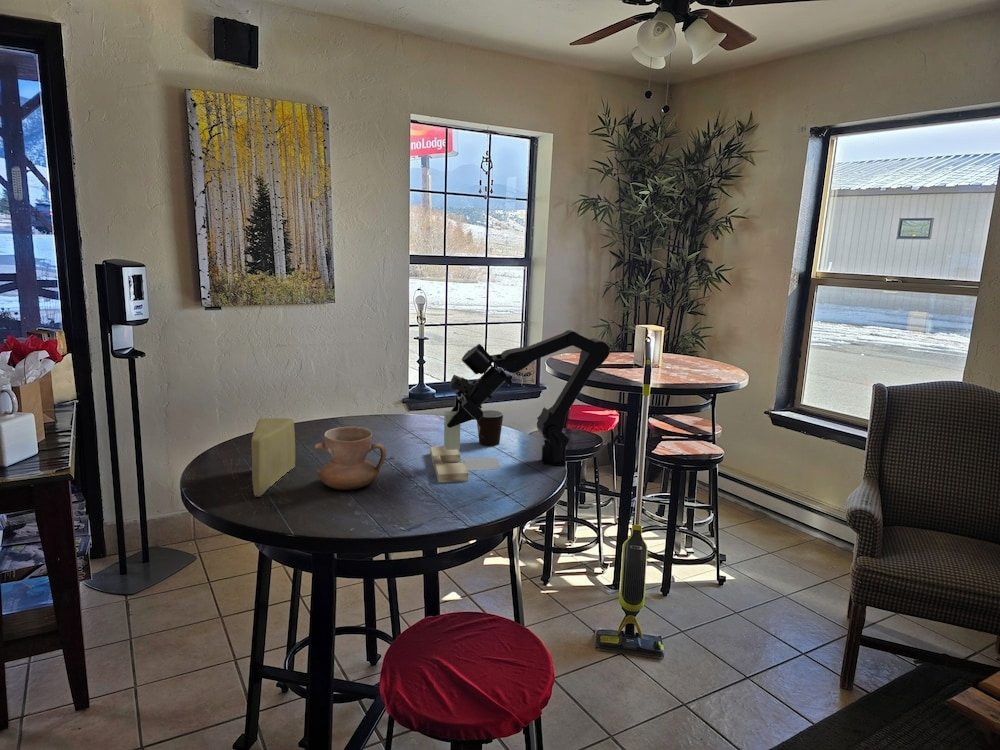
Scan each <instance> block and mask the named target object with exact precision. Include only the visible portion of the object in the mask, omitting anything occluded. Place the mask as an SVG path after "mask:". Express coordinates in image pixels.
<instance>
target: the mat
mask: <svg viewBox="0 0 1000 750" xmlns="http://www.w3.org/2000/svg"><path fill="white" fill-rule="evenodd" d="M462 461H463V462H464V464H465V466H466V469H467V471H468V472H469V471H486V470H489V471H490V470H493V471H495V470H503V468H502V466H501V464H500V462H499V460H498V458H497V457H477V458H476V457H474V458H473V457H472V458H470V457H469V458H462Z"/></svg>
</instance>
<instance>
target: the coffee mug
mask: <svg viewBox="0 0 1000 750" xmlns="http://www.w3.org/2000/svg"><path fill="white" fill-rule="evenodd" d="M482 411H483V418H482V419H481V420H480V421H479V422H478V421H477V420H476V426H477V432H478V433H477V435H478V444H479V445H481V446H484V447H495V446H498V445H500V442H501V441H500V440H501V434H502V429H503V428H502V427H503V420H504V412H502V411H499V410H493V409H486V410H482Z"/></svg>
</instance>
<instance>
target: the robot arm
mask: <svg viewBox="0 0 1000 750" xmlns="http://www.w3.org/2000/svg"><path fill="white" fill-rule="evenodd" d="M568 347H569V348H570V347H576V348H578V349H579V350H580V353H579V358H578V363H577V366H576V367H575V368H574V371H573V372H572V374H571V375H570V377H569V379H568V380H567V382H566V384H565V385H564V387H563V389H562V390H561V392H560V394H559V396H558V397H557V399H556V400H555V402H554V404H553V405H552V406H551V407H550V408H548V409H547V408H546V407H543V408H542V410H541V413H540V414H539V416H537V417H536V419H537V423H536V428H537V431H538V432H539V433H540V434H541V435H542V436H543V439H544V440H543V444H542V445H541V461H542V463H543V465H544V466H545V465H547V466H548V465H549V466H566V465H567V461H566V455H567V454H566V453H567V452H566V451H567V446H568V443H569V441H570V438H569V437H568V436H567V435H565V433H564V432H563V430H564V427H565V424H566V420H567V415H568V413H569V411H570V409H571V407H572V406H573V405H574V402H575V401H576V400H577V397H578V396H579V395H580V393H581V391H582V389H583V388H584V387H585V384H586V383H587V382H588V379H589V378H590V376H591V374H592V373H593V372H594V371H596V369H598V368H599V367H601V366H602V364H603V363H604V362H605V361H606V359H608V357H609V355H610V352H611V351H610V347H609V345H608V344H607V343H606V342H604V341H602V340H600V339H597V338H588V337H585V336H583V335H580V334H579V333H578V332H576V331H574V330H572V329H567V330H566V331H563V332H562V333H559V334H557V335H554V336H552V337H549V338H547V339H544V340H542V341H538V342H536V343H533V344H531V345H529V346H523V347H521V346H520V347H513V348H509V349H505V350H504V351H503V350H502V352H501V353H498V354H492V355H491V354H489V352H487V350H486V349H485V348H484V347H483V345H482V344H480V343H477V345H475V346H474V347H472V348H471V349H469V350H467V351H466V353H464V354H463V356H462V358H461V362H463V364H464V365H466V366H467V367H468V368H469V369H470V370H471V371H472V373H474V374H475V375H478V374H480V375H481V376H480V377H479V378H478V380H477V379H473V380H472V381H469V380H468V378H464V377H461V376H458V375H456V374H453V375H452V378H451V379H450V382H449V384H448V385H449V386H450V388H451V389H453V390H454V394H455V396H454V405H453V406H452V409H451V410H450V411H457V412H456V413H455V415H454V416H453V417H452V419H451V420H450V421H449V423H448V424H447V426H448V427H449V428H451V427H454V426H456V425H459V424H460V425H462V424H464V423H466V422H470V421H472V420H473V421H475V420H476V422H477V421H478V422H479V421H480V420H481V419H482V418H483V411H484V410H482V408H483V406H482V405H483V404H484V403H485V402H486V401H487V400H491V399H492V398H493V394H494V393H495V392H496V391H497V390H498V389H499V388H500V387H501V386H502V385H503V384H504V383H505V382H506V384H507V385H509V386H512V385H513V381H512V380H513V375H512V374H515V373H516V374H517V373H519V372H520V371H522V370H523V369H525V368H527V367H528V366H529V365H530V364H532V363H533V362H534V361H537V360H539V359H541V358H544V357H546V356H549V355H551V354H554V353H558V351H562V350H565V349H568ZM492 364H494V365H495V366H496V367H497V368H496V367H495V366H494V365H492ZM503 369H504V370H505V371H504V370H503ZM506 372H508V373H510V374H507V373H506Z"/></svg>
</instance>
